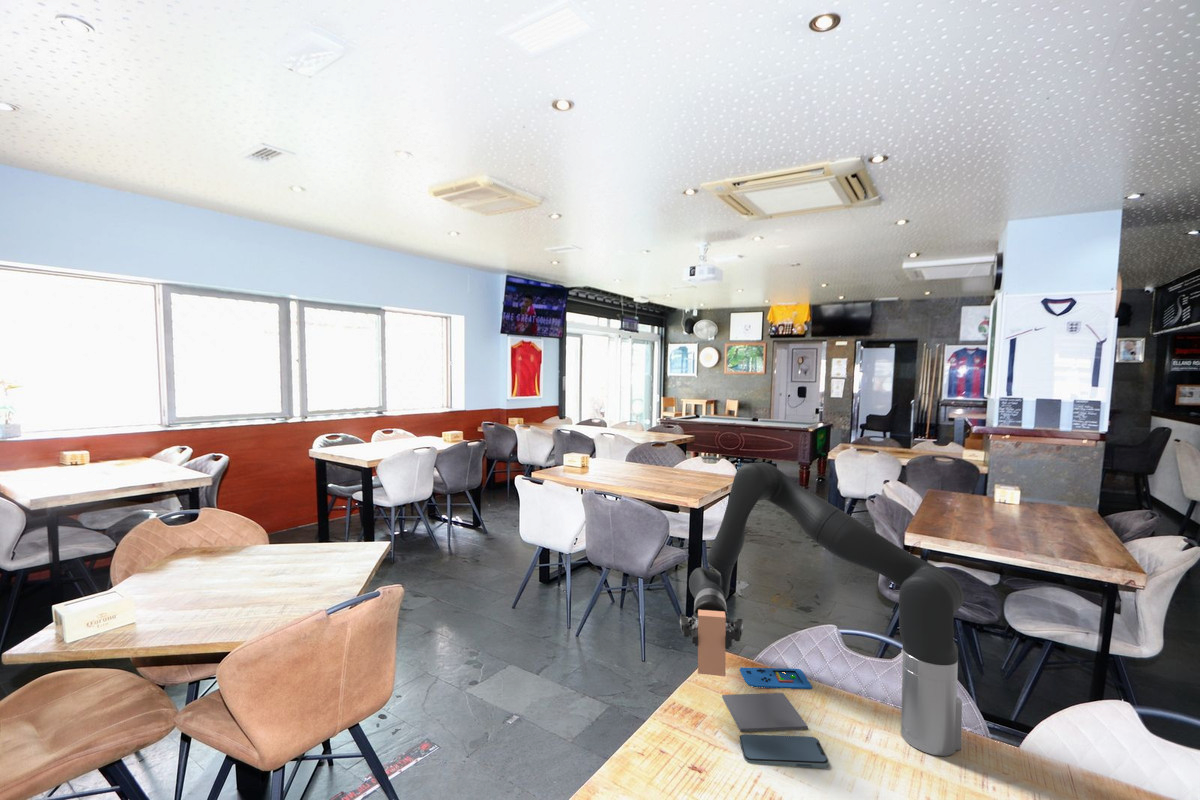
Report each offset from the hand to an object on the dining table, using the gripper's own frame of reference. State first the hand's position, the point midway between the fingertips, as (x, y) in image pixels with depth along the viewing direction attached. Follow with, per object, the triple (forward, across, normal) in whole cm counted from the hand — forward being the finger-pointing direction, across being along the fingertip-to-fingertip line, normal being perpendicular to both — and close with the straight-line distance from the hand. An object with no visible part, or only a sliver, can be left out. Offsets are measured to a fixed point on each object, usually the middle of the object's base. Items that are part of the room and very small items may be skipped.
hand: (711, 642), depth 108 cm
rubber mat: (-8, +11, +18) cm, 22 cm away
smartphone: (+5, +13, +18) cm, 23 cm away
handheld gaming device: (-22, +15, +18) cm, 32 cm away
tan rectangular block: (-3, 0, +7) cm, 7 cm away
